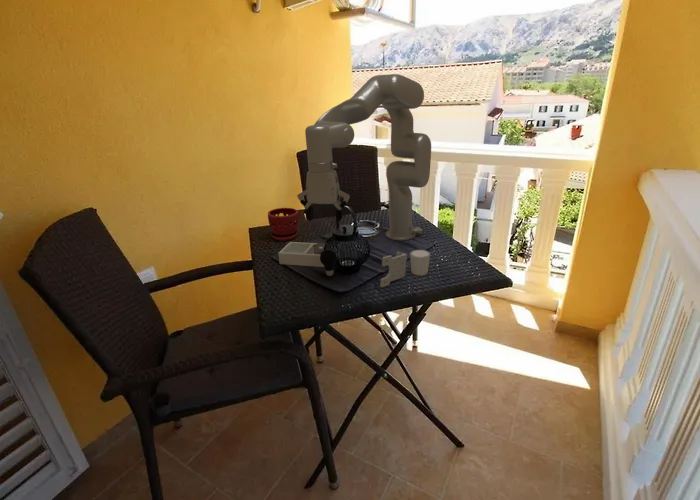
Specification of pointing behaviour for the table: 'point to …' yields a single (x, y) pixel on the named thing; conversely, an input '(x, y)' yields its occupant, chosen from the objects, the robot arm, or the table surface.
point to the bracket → (394, 268)
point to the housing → (302, 254)
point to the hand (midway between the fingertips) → (325, 220)
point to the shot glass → (419, 262)
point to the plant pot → (283, 223)
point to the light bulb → (328, 260)
